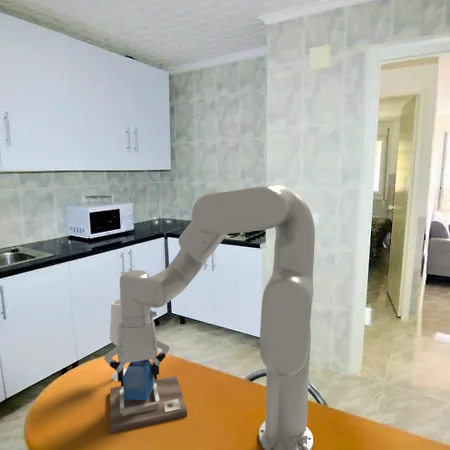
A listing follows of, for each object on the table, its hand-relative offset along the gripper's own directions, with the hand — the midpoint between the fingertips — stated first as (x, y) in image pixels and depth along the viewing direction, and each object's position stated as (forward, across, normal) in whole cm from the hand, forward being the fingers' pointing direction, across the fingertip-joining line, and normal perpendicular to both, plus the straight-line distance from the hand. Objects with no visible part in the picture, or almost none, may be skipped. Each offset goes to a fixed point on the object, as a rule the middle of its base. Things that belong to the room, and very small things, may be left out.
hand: (138, 379), depth 89 cm
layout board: (+7, -2, 0) cm, 8 cm away
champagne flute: (+8, +4, -16) cm, 18 cm away
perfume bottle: (+4, 0, 0) cm, 4 cm away
